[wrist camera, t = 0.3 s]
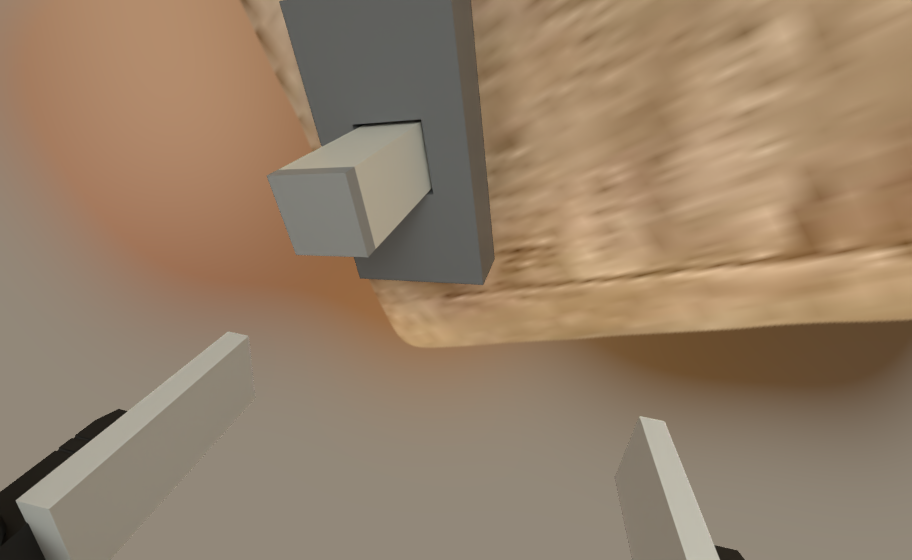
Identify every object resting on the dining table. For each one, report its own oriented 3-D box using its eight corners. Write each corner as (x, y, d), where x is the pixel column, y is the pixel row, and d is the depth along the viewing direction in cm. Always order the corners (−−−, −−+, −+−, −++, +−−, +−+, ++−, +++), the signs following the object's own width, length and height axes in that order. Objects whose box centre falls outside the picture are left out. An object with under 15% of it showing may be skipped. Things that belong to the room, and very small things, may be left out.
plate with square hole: (316, 0, 32) (279, 1, 28) (468, -28, 28) (447, -32, 25) (380, 255, 43) (360, 278, 40) (494, 258, 40) (483, 284, 36)
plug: (376, 117, 34) (266, 175, 23) (433, 113, 33) (345, 173, 22) (389, 177, 37) (296, 254, 26) (443, 175, 35) (368, 257, 24)
